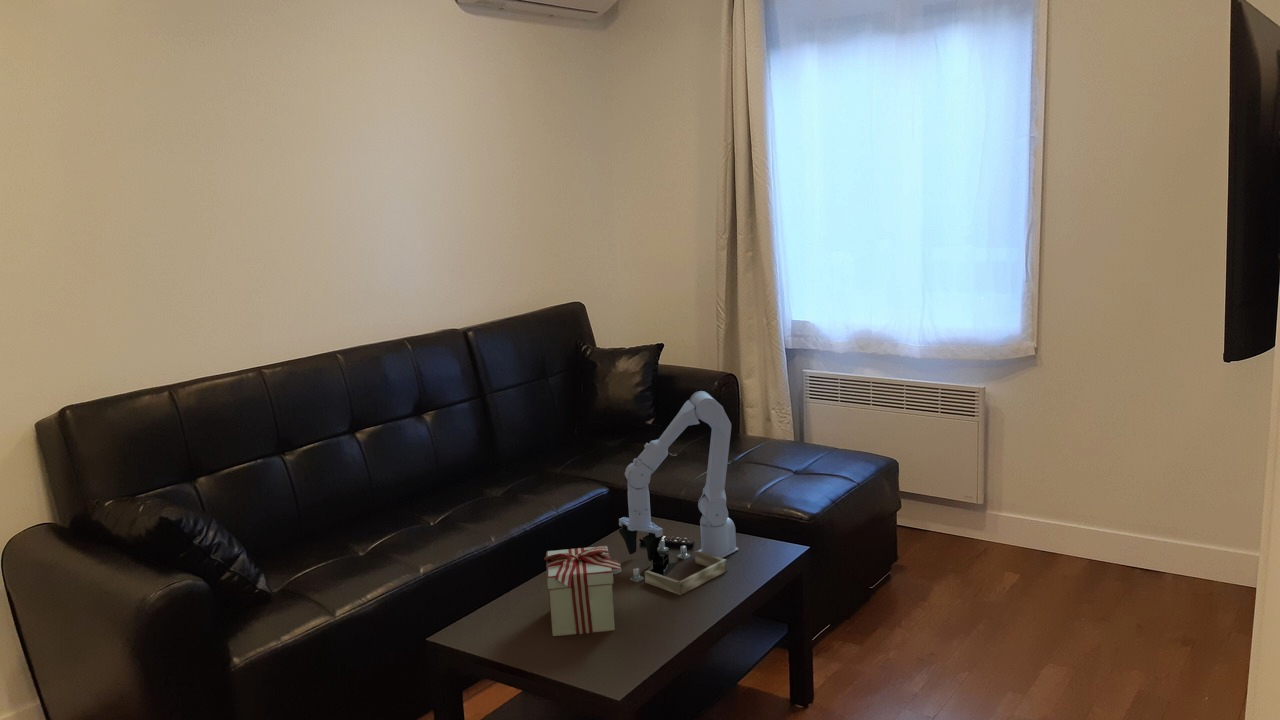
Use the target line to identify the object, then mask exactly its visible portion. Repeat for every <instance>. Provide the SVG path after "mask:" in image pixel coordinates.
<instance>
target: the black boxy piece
mask: <svg viewBox="0 0 1280 720" xmlns="http://www.w3.org/2000/svg"><path fill="white" fill-rule="evenodd" d="M669 557H670V555H669V550H667V551H660V550H658V551H657V552H656V553H655V554H654V555H653V560H652V565H650V567H649V568H647V570H648V571H651V572H654V573H657V574H660V575H663V576H666V577H667V576H668V574H670V572H671V571H672V570H673V569H674V568H675V567H676V565H678V564H679V563H680V561H677V560H672V559H671V560H670V558H669ZM642 576H645V572H644V573H643V574H642Z"/></svg>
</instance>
